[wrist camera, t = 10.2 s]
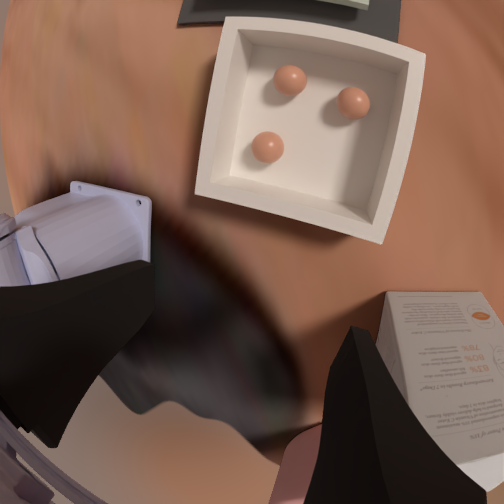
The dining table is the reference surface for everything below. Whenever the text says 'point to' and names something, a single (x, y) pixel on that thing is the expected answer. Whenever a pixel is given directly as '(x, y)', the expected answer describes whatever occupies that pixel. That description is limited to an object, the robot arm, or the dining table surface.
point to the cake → (297, 468)
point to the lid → (351, 3)
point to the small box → (450, 373)
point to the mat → (301, 14)
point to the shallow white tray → (310, 123)
